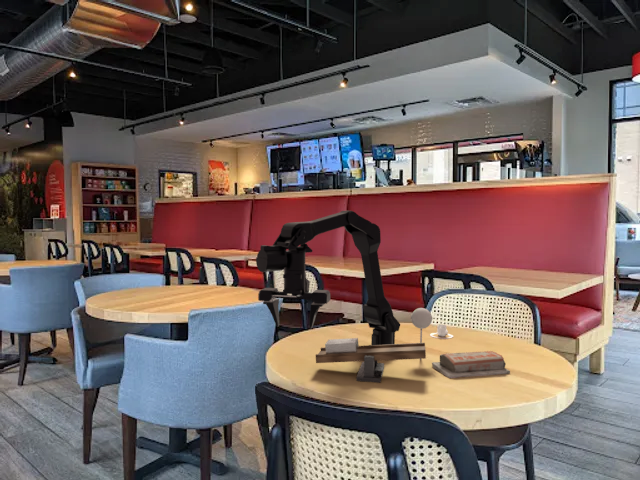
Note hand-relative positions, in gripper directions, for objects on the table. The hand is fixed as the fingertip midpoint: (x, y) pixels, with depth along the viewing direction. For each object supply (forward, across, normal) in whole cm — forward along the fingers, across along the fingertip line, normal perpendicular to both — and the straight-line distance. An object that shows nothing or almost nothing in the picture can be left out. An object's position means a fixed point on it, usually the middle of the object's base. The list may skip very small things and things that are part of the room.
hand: (294, 327), depth 135 cm
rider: (+6, -13, 0) cm, 15 cm away
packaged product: (+12, -47, -10) cm, 49 cm away
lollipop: (+11, -34, -16) cm, 39 cm away
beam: (+7, -21, 0) cm, 22 cm away
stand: (+11, -21, 0) cm, 24 cm away
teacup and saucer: (+12, -43, -48) cm, 66 cm away
